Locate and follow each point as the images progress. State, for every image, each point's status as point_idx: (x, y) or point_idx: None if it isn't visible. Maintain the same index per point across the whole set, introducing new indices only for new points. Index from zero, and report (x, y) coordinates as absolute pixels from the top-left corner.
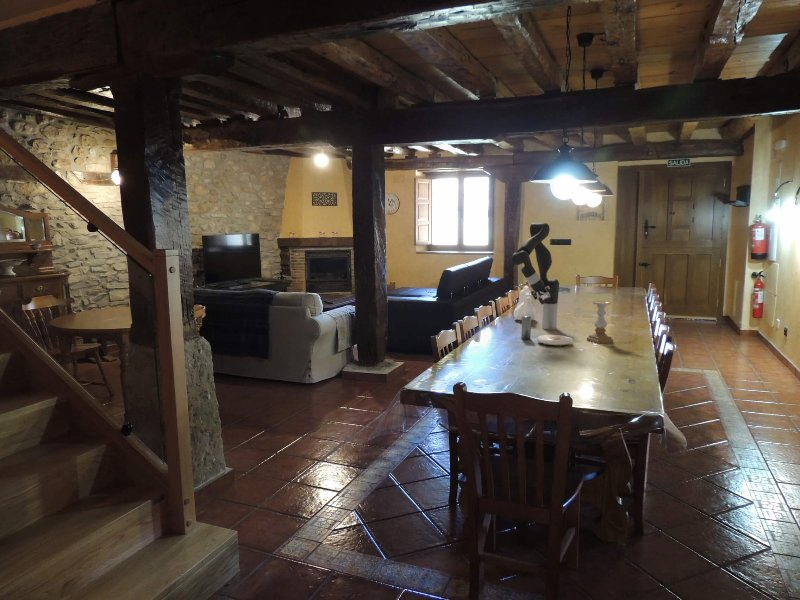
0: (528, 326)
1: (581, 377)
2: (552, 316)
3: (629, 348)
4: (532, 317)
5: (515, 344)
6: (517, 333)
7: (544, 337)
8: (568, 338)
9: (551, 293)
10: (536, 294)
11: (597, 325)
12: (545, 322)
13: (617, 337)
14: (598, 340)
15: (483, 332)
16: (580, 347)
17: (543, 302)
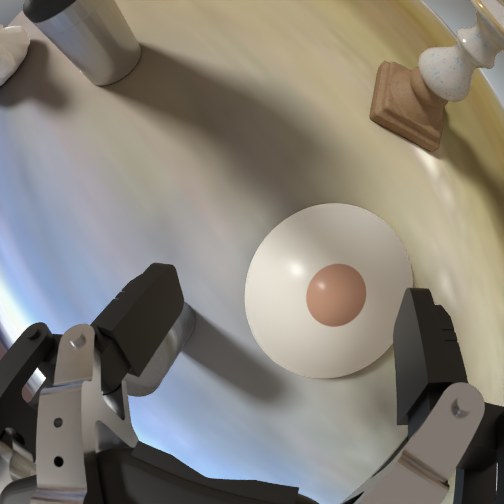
0: (177, 354)
1: None
2: (111, 33)
3: (494, 146)
4: (24, 49)
5: (224, 427)
6: (73, 248)
7: (286, 319)
8: (379, 237)
9: (494, 476)
10: (19, 385)
11: (453, 100)
12: (95, 69)
13: (382, 22)
14: (437, 144)
15: (16, 336)
16: (431, 257)
17: (169, 285)
